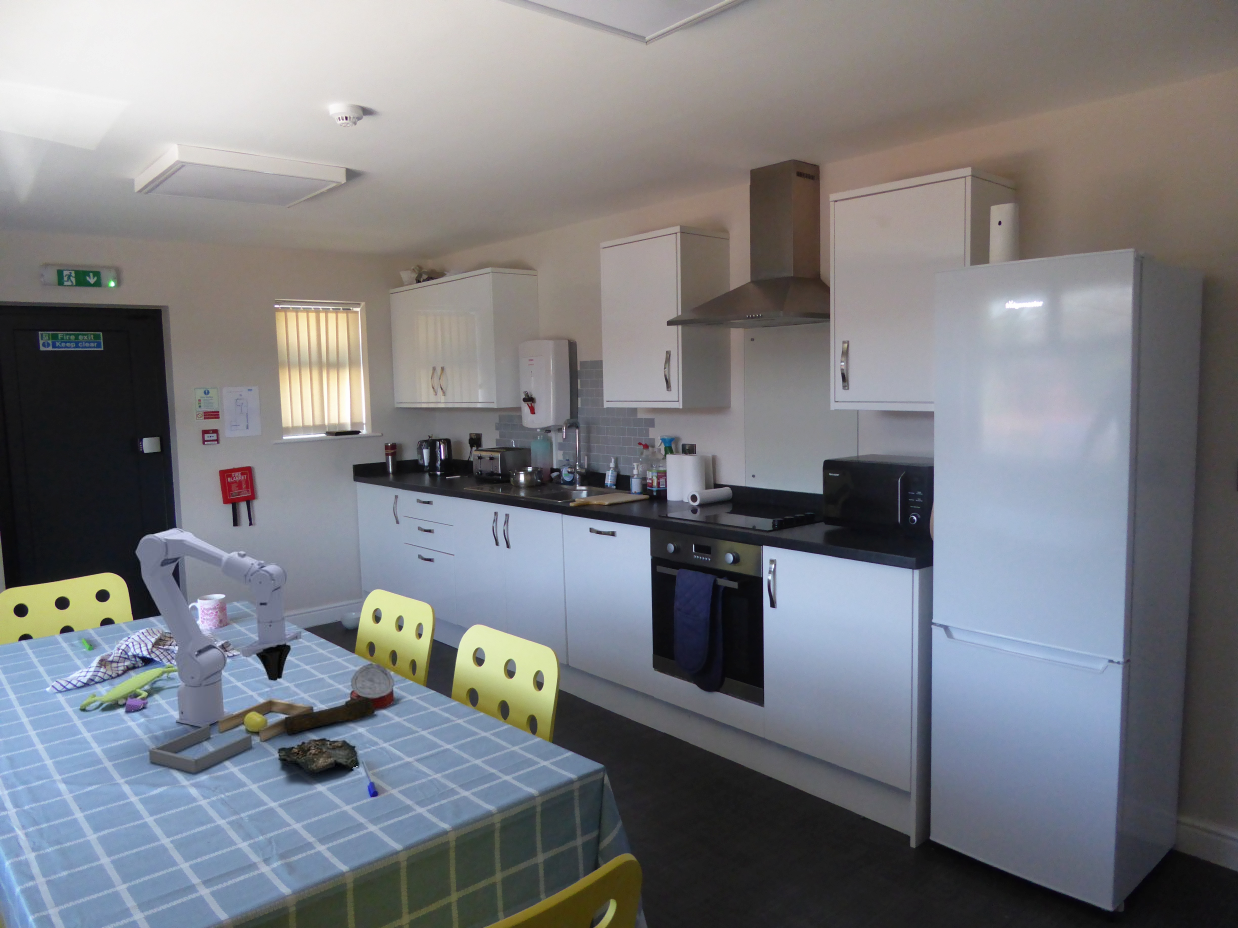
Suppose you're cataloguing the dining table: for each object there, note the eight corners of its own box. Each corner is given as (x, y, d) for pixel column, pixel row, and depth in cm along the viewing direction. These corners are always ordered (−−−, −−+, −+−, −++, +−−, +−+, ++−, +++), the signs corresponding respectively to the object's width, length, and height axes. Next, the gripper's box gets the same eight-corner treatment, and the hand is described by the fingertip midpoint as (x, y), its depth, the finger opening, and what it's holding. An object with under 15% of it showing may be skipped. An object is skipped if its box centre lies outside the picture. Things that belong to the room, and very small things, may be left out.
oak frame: (218, 731, 180) (217, 720, 180) (271, 708, 193) (270, 698, 192) (262, 741, 174) (261, 729, 174) (313, 717, 187) (313, 706, 186)
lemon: (260, 722, 185) (258, 705, 185) (271, 732, 179) (270, 715, 179) (240, 727, 182) (239, 710, 182) (251, 738, 176) (250, 720, 176)
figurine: (221, 684, 212) (219, 663, 212) (115, 721, 189) (113, 698, 189) (177, 674, 222) (176, 654, 221) (71, 709, 198) (69, 686, 198)
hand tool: (287, 738, 176) (285, 717, 176) (284, 731, 179) (283, 711, 179) (377, 719, 185) (376, 699, 185) (373, 713, 189) (372, 693, 188)
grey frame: (149, 761, 166) (148, 749, 166) (208, 736, 178) (207, 725, 178) (194, 773, 160) (193, 760, 160) (252, 746, 172) (251, 734, 172)
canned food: (391, 714, 199) (409, 678, 199) (375, 727, 189) (394, 688, 189) (351, 692, 200) (369, 656, 200) (332, 704, 190) (351, 665, 190)
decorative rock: (261, 739, 166) (333, 713, 176) (266, 768, 167) (338, 741, 176) (293, 763, 152) (370, 733, 161) (298, 795, 152) (375, 763, 162)
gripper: (256, 630, 176) (260, 691, 177) (309, 612, 189) (313, 670, 190) (233, 626, 179) (238, 687, 180) (287, 610, 192) (291, 667, 193)
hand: (275, 678), depth 185 cm, fingers closed
